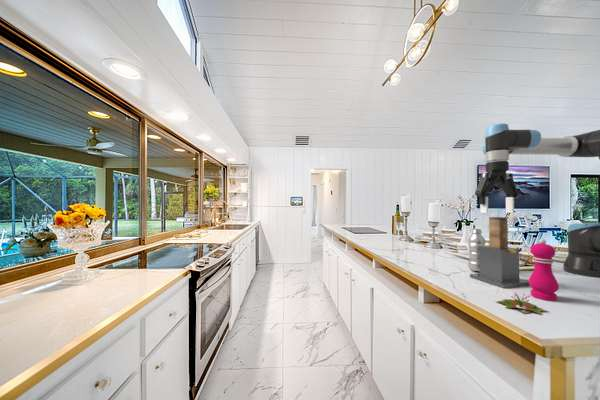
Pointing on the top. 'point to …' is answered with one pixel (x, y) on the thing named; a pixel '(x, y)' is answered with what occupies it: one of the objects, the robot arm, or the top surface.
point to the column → (498, 232)
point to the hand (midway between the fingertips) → (497, 212)
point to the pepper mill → (543, 272)
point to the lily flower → (521, 304)
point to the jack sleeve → (500, 267)
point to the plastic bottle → (475, 249)
